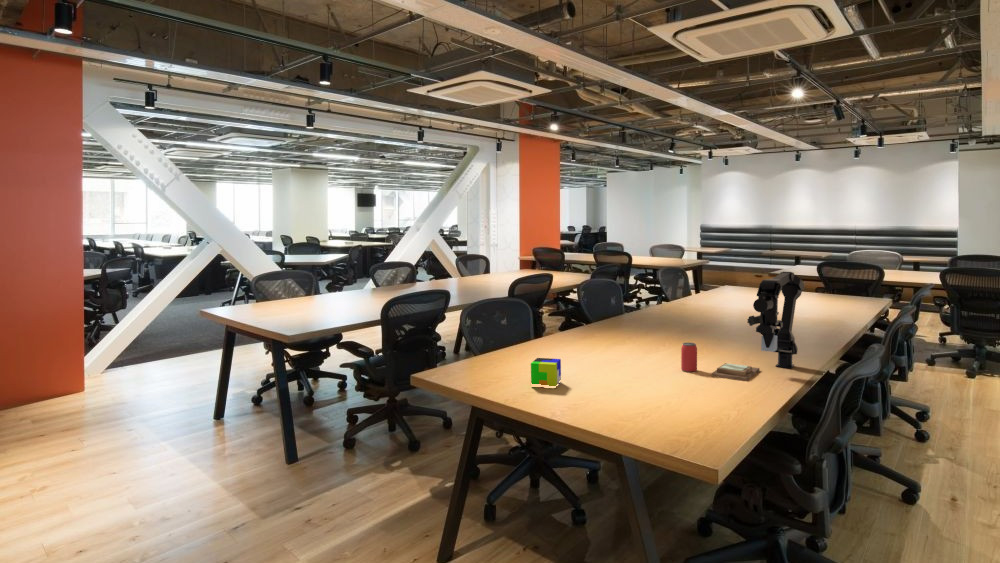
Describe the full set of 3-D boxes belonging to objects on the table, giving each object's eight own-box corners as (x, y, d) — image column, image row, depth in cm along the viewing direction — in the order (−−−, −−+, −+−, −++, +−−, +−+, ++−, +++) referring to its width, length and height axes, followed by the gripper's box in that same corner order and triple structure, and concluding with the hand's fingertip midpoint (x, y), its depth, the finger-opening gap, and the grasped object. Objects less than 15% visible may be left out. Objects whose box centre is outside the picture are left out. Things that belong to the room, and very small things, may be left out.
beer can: (698, 372, 246) (698, 345, 245) (682, 372, 248) (682, 345, 247) (695, 368, 253) (696, 342, 252) (680, 368, 254) (680, 342, 253)
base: (726, 366, 256) (726, 359, 255) (759, 370, 247) (759, 363, 247) (711, 376, 240) (711, 368, 240) (746, 380, 232) (746, 373, 231)
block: (764, 348, 243) (764, 334, 243) (777, 349, 240) (777, 335, 240) (761, 350, 239) (761, 336, 239) (774, 351, 236) (774, 337, 236)
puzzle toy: (561, 382, 236) (560, 359, 235) (555, 389, 227) (555, 364, 226) (537, 381, 239) (537, 357, 238) (531, 387, 230) (530, 363, 229)
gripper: (755, 305, 250) (755, 340, 252) (743, 311, 236) (742, 348, 237) (783, 307, 244) (782, 343, 245) (772, 313, 229) (771, 351, 230)
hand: (769, 346), depth 240 cm, fingers closed on block, 5 cm apart
